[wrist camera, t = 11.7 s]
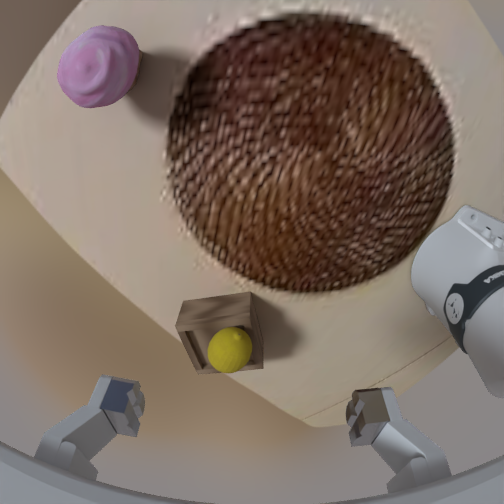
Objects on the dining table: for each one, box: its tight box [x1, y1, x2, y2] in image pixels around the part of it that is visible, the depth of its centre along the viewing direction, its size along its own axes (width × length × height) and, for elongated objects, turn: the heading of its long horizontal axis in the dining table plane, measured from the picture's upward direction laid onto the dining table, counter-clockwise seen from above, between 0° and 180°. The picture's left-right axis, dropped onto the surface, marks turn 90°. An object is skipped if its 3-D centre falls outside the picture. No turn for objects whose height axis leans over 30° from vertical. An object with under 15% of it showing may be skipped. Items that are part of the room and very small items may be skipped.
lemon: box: [208, 327, 252, 373], centre depth 39 cm, size 6×6×8 cm
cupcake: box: [57, 25, 142, 108], centre depth 25 cm, size 9×9×10 cm
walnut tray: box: [175, 292, 263, 374], centre depth 44 cm, size 10×10×6 cm
